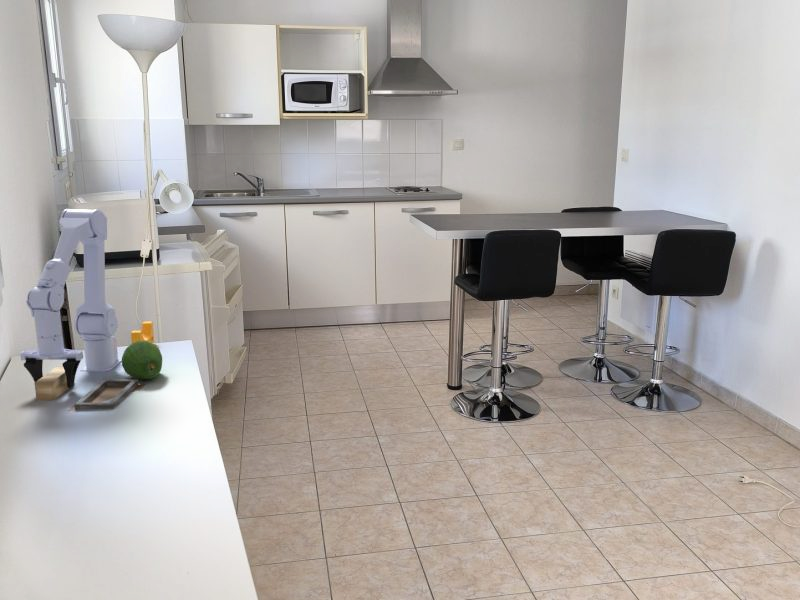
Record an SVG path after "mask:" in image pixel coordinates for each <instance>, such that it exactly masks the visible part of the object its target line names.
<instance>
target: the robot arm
mask: <svg viewBox="0 0 800 600" xmlns="http://www.w3.org/2000/svg"><path fill="white" fill-rule="evenodd" d="M58 224H59V228H60V230H61V232H60V236H59V239H58V243H57V246H56V249H55V252H54V254H53V258H52V259H50V260H47V262H46V263H45V265H44V268H43V270H42V272H41V275H40V277H39V280H38V282H37V284H36V286H35V287H33V288H32V289H30V290H29V292H28V294H27V297H26V298H27V299H26V301H25V302H26V306H27V307H28V309H29V310H30V314H31V317H32V318H34V324H35V325H34V326H35V333H36V340H37V341H36V342H37V349H33V350H32V349H31V350H22V351H21V352H20V353H19V355H20V360H21V361H25V362H24V363H23V367H24V368H25V369H26V370H27V371H28V373H29V374H30V376H31V378H32V380H33V381H34V383H35V382H36V381H37V380H39V379H40V378H42V377H43V376H44V374H43V362H44V361H43V360H45V361H46V360H47V361H48V360H55V361H56V360H58V361H60V360H65V361H64V362H62V366H63V367H64V370H65V374H66V380H67V387H68V388H69V389H72V388H74V386H75V384H74V383H75V381H76V380H75V379H76V374H77V370H78V368H79V365H80V363H81V361H82V360H83V359H85V360H84V361H85V366H83V367H82V368H80V372H110V371H111V370H112V369H114V368H115V367H116V366H118V365H119V364H120V363H122V358H121V359H119V355H118V354H119V352H118V343H117V339H116V336H115V334H116V332H117V330H118V325H119V324H118V318H117V316H116V309H115V307H114V306H112V305H110V304H109V303H108V302H107V301H106V273H105V272H106V271H105V269H106V268H105V267H106V266H105V264H106V263H105V261H106V260H105V258H106V256H105V255H106V254H105V252H106V251H105V241H106V240H107V239H108V218H107V216H106V215H105V213H104V212H103V211H102V210H101V209H99V208H98V209H79V208H78V209H76V208H75V209H73V208H65V209H64V210H63V211H62V212H61V214H60V219H59V221H58ZM79 243H81V244H82V245H83V284H84V286H83V287H84V289H83V290H84V294H83V295H84V299H83V300H84V302H83V303H82V304H81V305H80V306H79V307H77V308H76V315H75V319H74V323H73V325H74V326H73V327H74V330H75V332H76V334H78V336H80V337H79V338H80V339H82V341H83V349H84V352H83V350H75V349H68V348H65V346H64V337H63V336H64V335H63V327H62V320H61V319H62V317H61V311H60V310H61V308H62V307H63V305H64V302H65V285H66V283H67V280H68V277H69V275H70V273H71V268H70V265H69V263H70V261H71V259H72V256H73V254H74V252H75V250H76V249H77V247H78V245H79Z"/></svg>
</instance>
